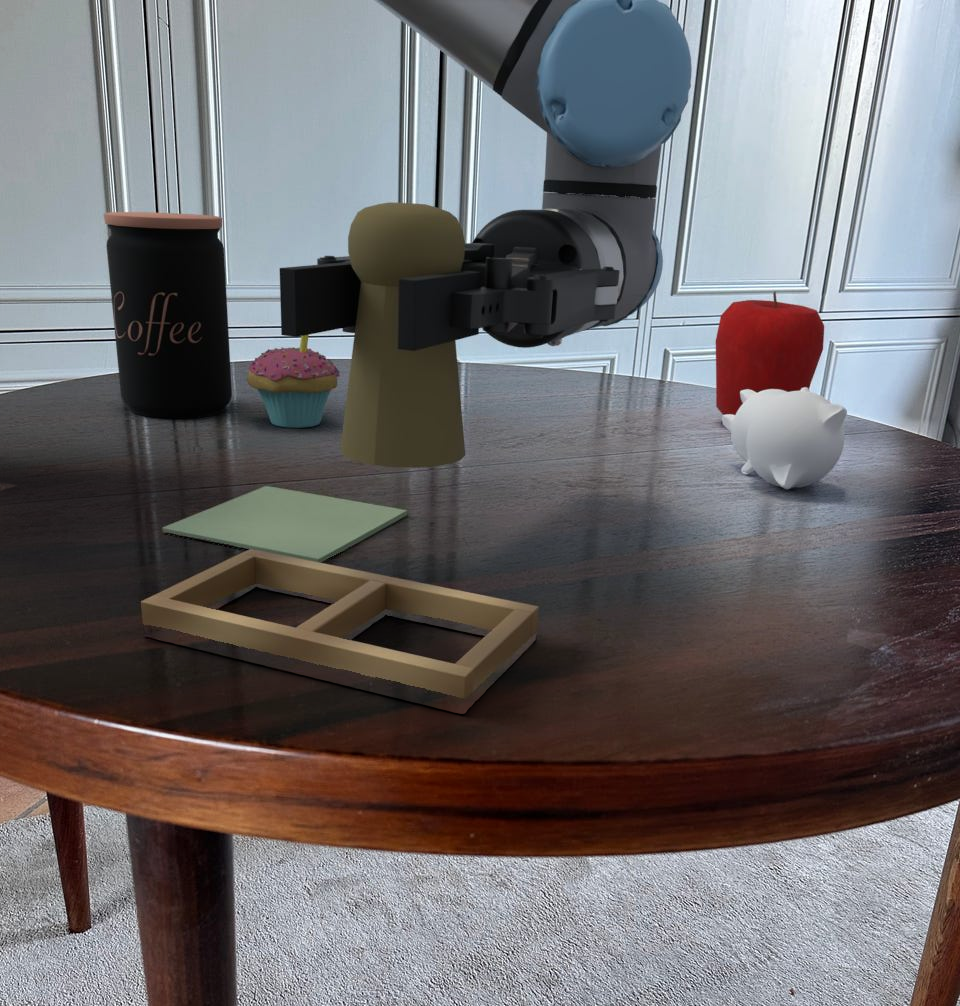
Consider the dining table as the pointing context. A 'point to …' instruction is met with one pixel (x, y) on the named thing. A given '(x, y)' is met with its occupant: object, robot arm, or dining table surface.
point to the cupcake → (293, 384)
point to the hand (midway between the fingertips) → (346, 308)
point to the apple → (765, 349)
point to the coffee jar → (170, 313)
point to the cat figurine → (787, 435)
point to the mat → (289, 523)
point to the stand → (345, 619)
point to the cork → (376, 358)
